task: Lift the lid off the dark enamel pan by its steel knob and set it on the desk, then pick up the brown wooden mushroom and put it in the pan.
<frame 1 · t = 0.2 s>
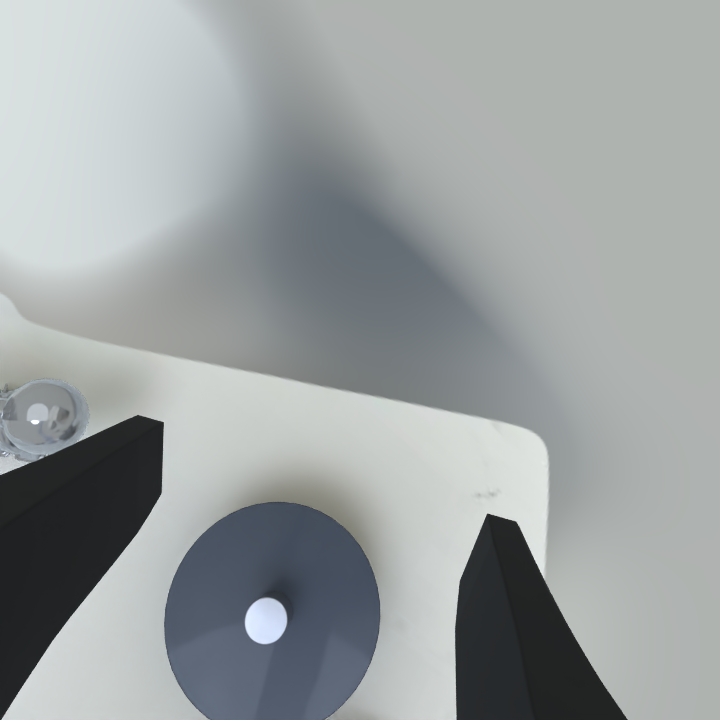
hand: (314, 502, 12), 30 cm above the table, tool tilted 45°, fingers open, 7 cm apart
pan lid: (274, 611, 34), point 5 cm above the table, touching pan
robot toy: (44, 430, 42), on the table
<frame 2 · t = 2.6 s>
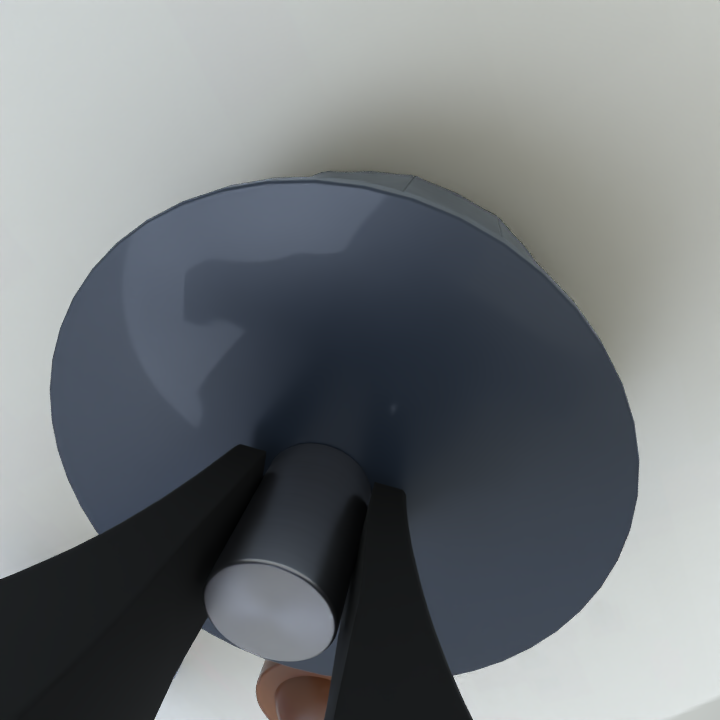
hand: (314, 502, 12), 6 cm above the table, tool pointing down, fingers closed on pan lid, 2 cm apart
pan lid: (324, 473, 13), point 5 cm above the table, touching gripper, pan
mushroom: (342, 623, 23), on the table
pan: (366, 370, 17), on the table
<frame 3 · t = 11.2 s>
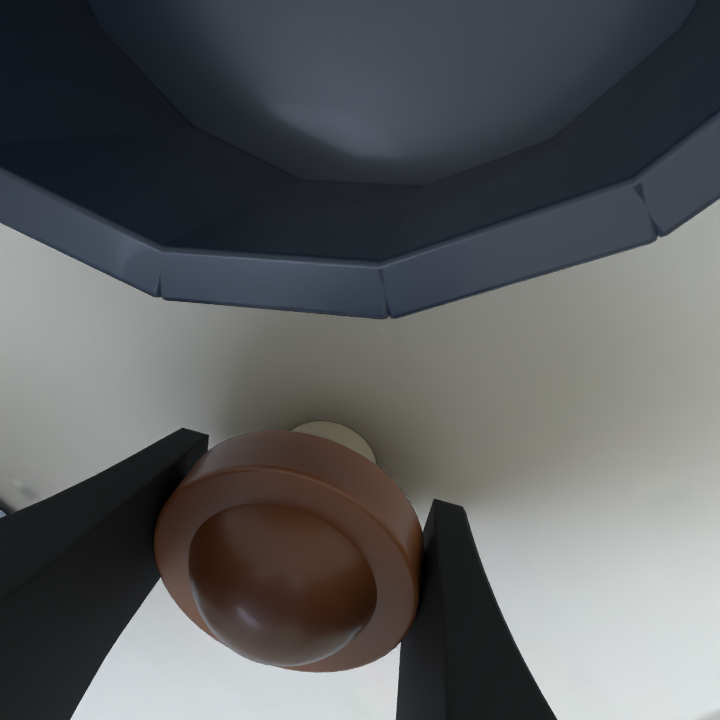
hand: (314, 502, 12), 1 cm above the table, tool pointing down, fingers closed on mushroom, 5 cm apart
mushroom: (328, 462, 13), on the table, touching gripper
when the fingers open (2 cm above the table, at t = 16.0 s): mushroom stays where it is, resting on pan.
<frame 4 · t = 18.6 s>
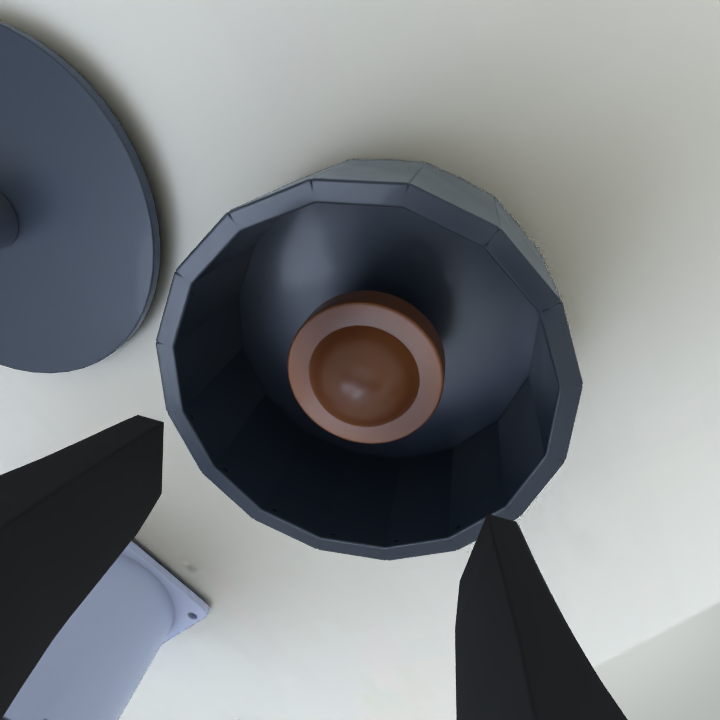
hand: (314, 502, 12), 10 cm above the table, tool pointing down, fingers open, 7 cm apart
pan lid: (0, 213, 21), point 1 cm above the table
mushroom: (380, 333, 20), resting on pan
pan: (382, 330, 20), on the table
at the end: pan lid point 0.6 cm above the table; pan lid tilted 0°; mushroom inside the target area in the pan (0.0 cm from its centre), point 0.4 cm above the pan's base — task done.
